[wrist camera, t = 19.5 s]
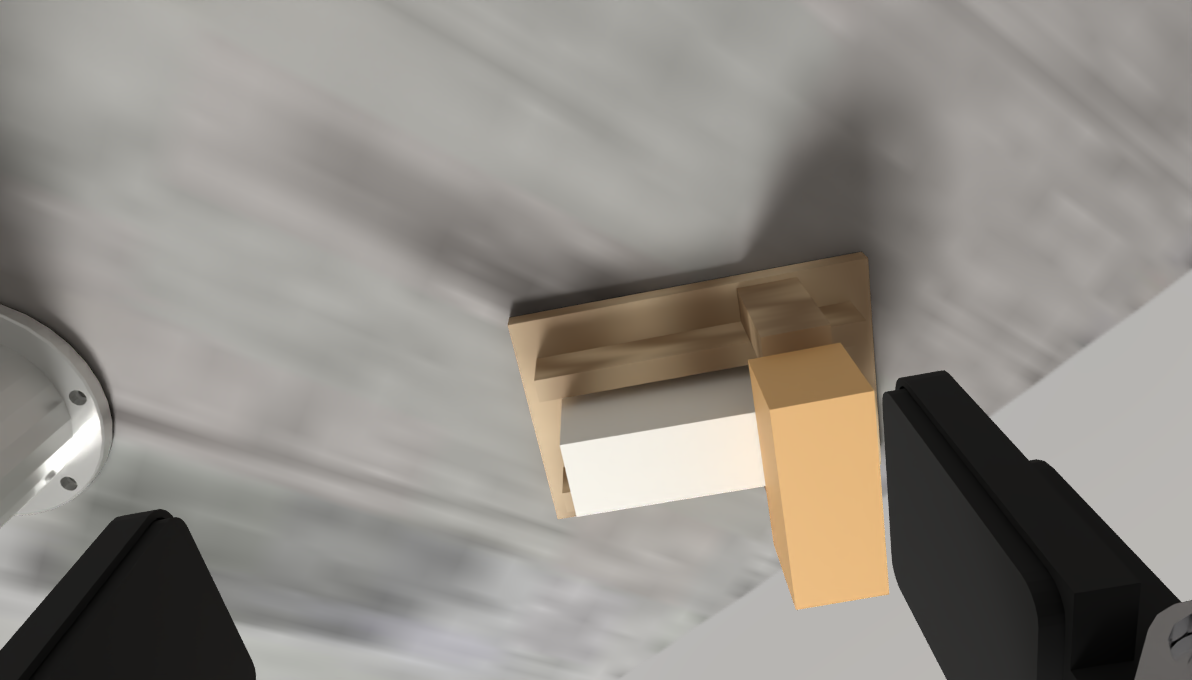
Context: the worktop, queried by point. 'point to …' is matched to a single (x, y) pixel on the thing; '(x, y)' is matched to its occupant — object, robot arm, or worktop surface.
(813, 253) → the worktop surface
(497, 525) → the worktop surface
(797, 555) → the light orange rectangular block
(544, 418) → the cradle
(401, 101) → the worktop surface
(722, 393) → the white rectangular block
